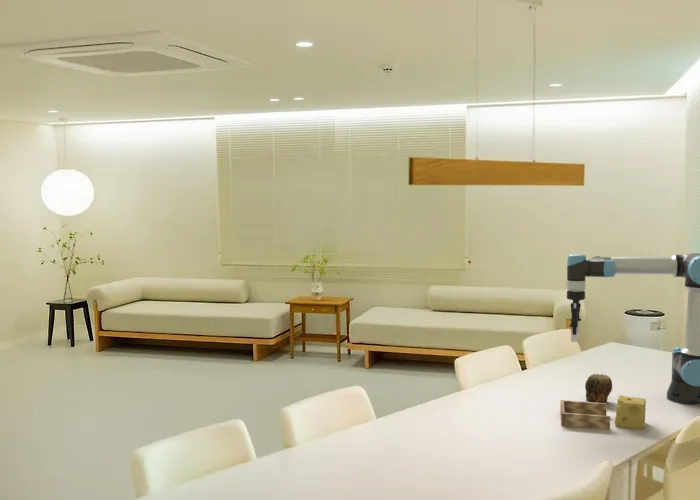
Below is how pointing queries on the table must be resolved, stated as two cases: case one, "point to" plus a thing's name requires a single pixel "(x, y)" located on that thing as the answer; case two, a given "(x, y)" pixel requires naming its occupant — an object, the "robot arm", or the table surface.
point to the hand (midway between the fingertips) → (575, 338)
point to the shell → (598, 388)
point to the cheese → (630, 412)
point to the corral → (584, 414)
